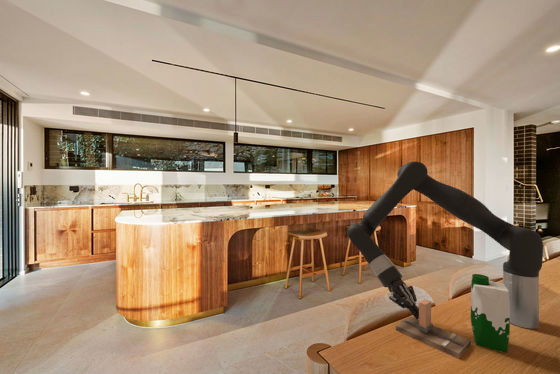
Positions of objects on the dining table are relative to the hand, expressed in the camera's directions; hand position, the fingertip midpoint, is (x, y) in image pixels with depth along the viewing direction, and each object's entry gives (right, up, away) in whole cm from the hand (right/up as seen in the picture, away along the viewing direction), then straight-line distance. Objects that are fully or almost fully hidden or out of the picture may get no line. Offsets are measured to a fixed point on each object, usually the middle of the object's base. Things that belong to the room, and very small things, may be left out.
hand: (420, 317), depth 83 cm
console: (+2, -5, -3) cm, 6 cm away
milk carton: (+18, -5, -6) cm, 19 cm away
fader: (+1, -3, -1) cm, 3 cm away
